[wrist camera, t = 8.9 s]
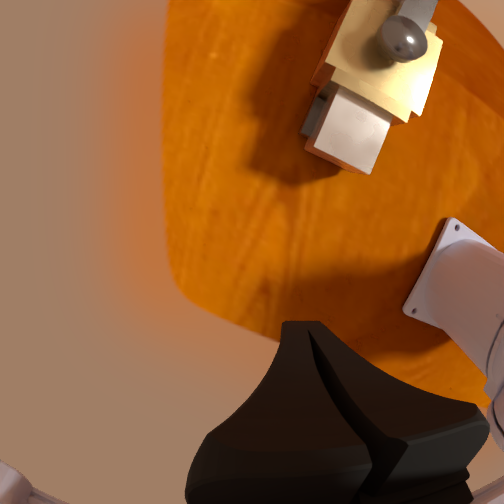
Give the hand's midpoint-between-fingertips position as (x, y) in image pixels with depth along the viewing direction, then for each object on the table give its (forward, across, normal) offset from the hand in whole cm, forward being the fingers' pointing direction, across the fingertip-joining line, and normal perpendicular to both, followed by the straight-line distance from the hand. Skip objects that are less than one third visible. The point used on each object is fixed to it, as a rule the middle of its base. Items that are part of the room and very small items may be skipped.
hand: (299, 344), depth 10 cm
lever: (+5, -6, -16) cm, 18 cm away
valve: (+9, -5, -13) cm, 17 cm away
